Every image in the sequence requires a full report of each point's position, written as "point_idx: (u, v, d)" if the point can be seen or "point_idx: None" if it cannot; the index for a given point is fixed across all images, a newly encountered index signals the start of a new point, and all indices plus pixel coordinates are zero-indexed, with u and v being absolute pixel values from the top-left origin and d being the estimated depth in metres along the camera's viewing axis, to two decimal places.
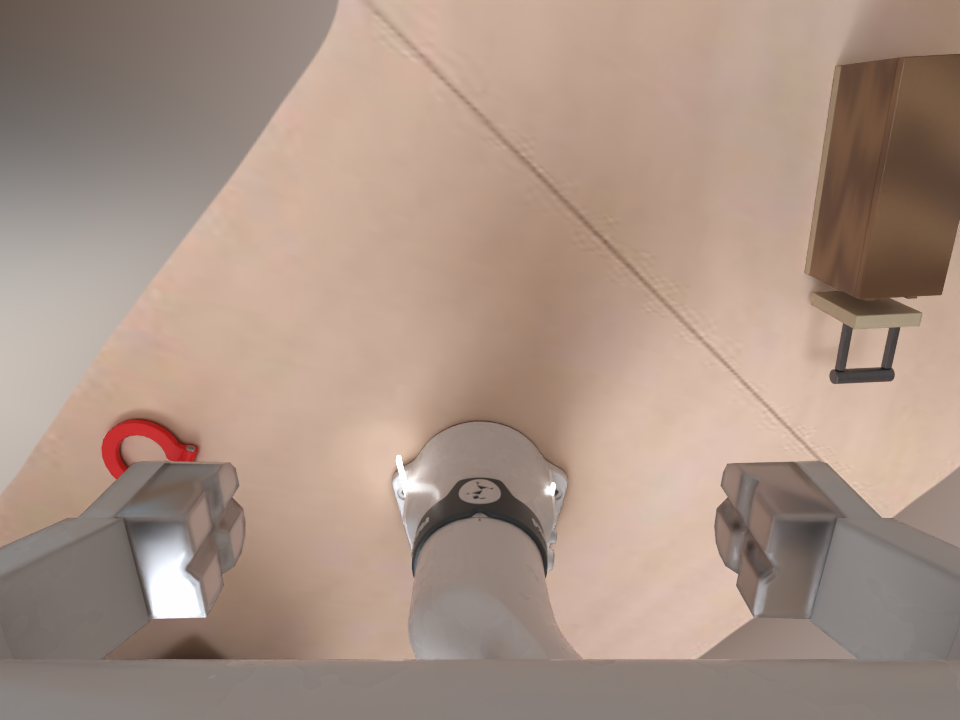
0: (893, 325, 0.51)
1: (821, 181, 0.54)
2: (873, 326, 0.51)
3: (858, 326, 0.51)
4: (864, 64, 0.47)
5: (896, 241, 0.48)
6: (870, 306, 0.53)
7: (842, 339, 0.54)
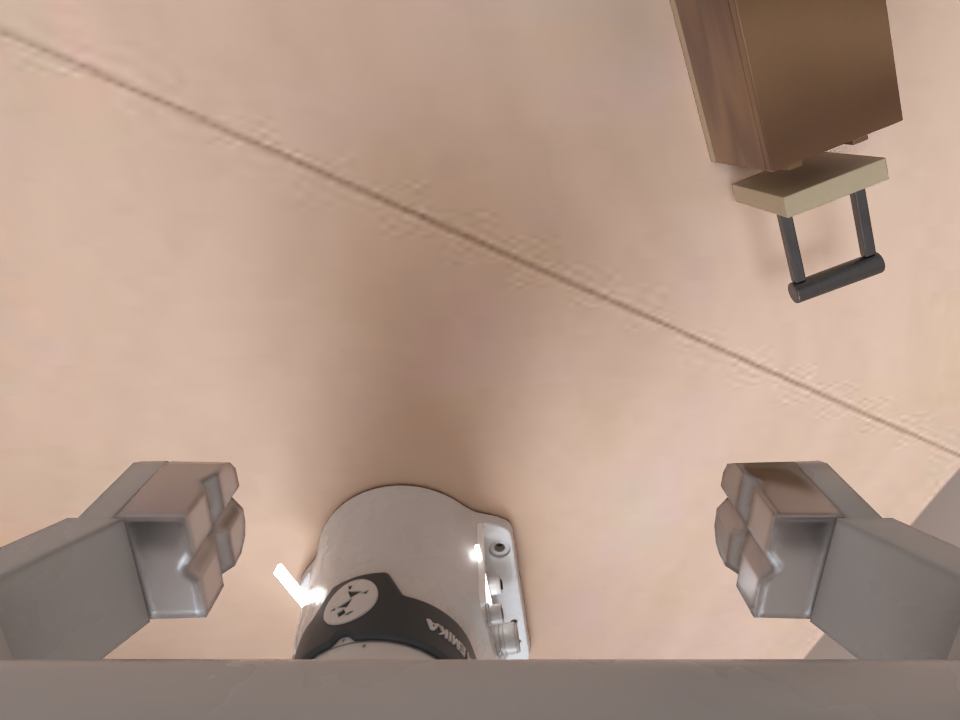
0: (847, 191, 0.33)
1: (679, 25, 0.36)
2: (815, 204, 0.33)
3: (792, 211, 0.33)
4: None
5: (793, 64, 0.30)
6: (808, 175, 0.34)
7: (784, 237, 0.35)
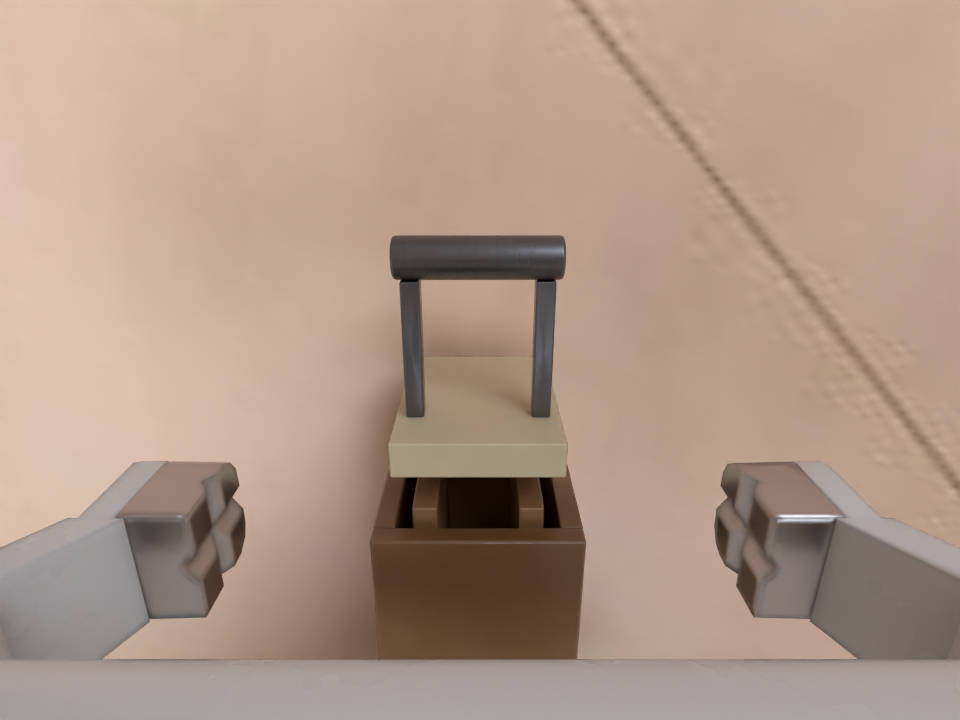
0: (460, 449, 0.18)
1: None
2: (516, 449, 0.18)
3: (557, 451, 0.18)
4: None
5: (516, 654, 0.20)
6: None
7: (551, 368, 0.19)
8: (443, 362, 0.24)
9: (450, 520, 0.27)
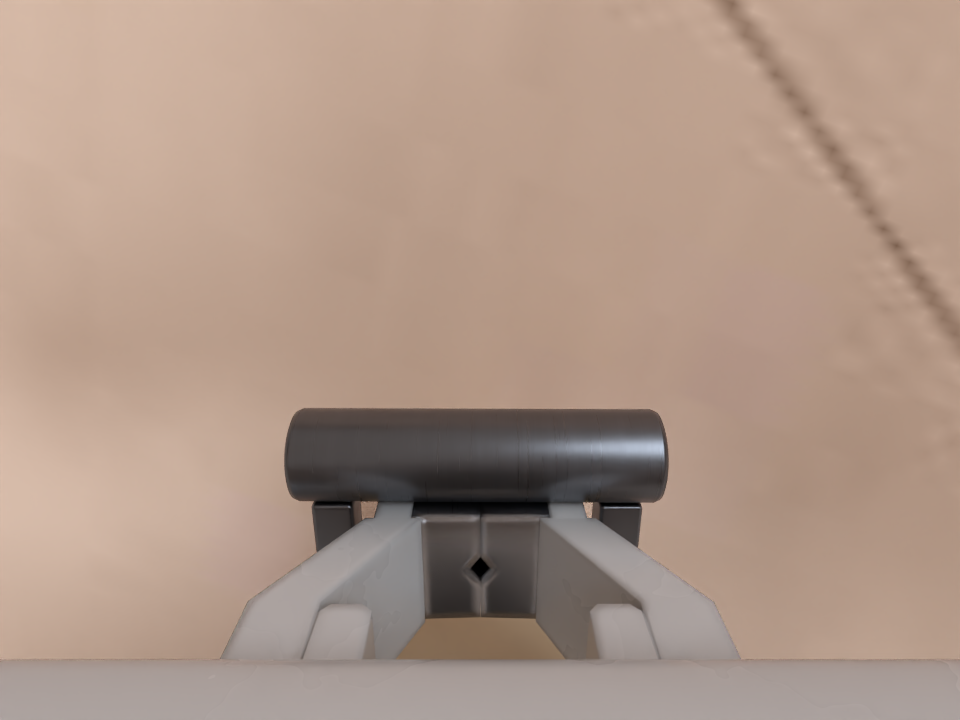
0: None
1: None
2: None
3: None
4: None
5: None
6: None
7: None
8: None
9: None
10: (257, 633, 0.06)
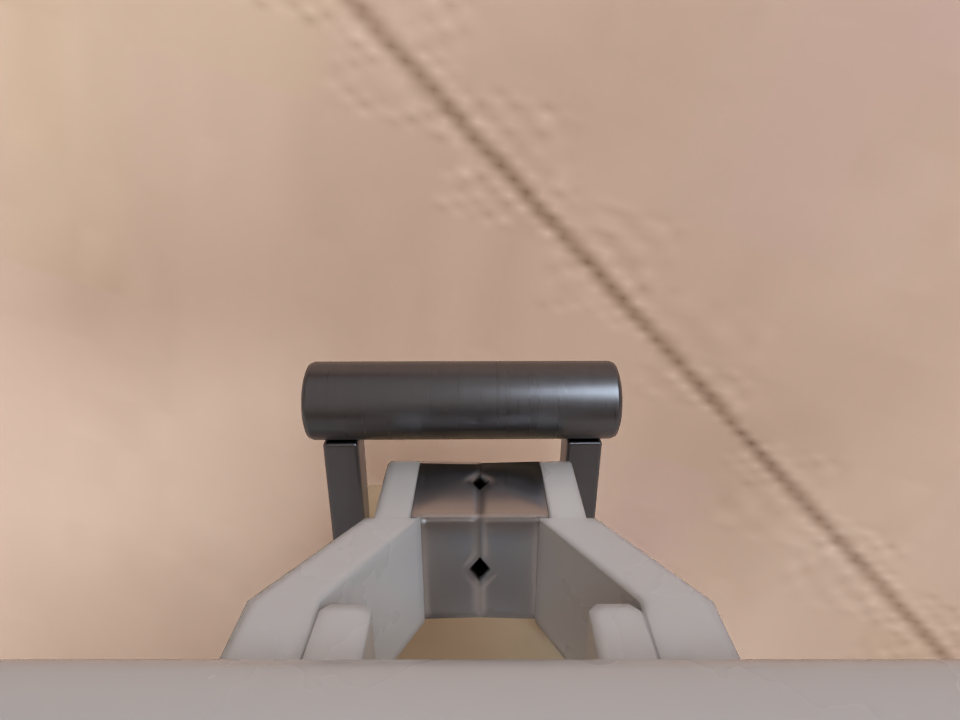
0: None
1: None
2: None
3: None
4: None
5: None
6: None
7: None
8: None
9: None
10: (256, 633, 0.06)
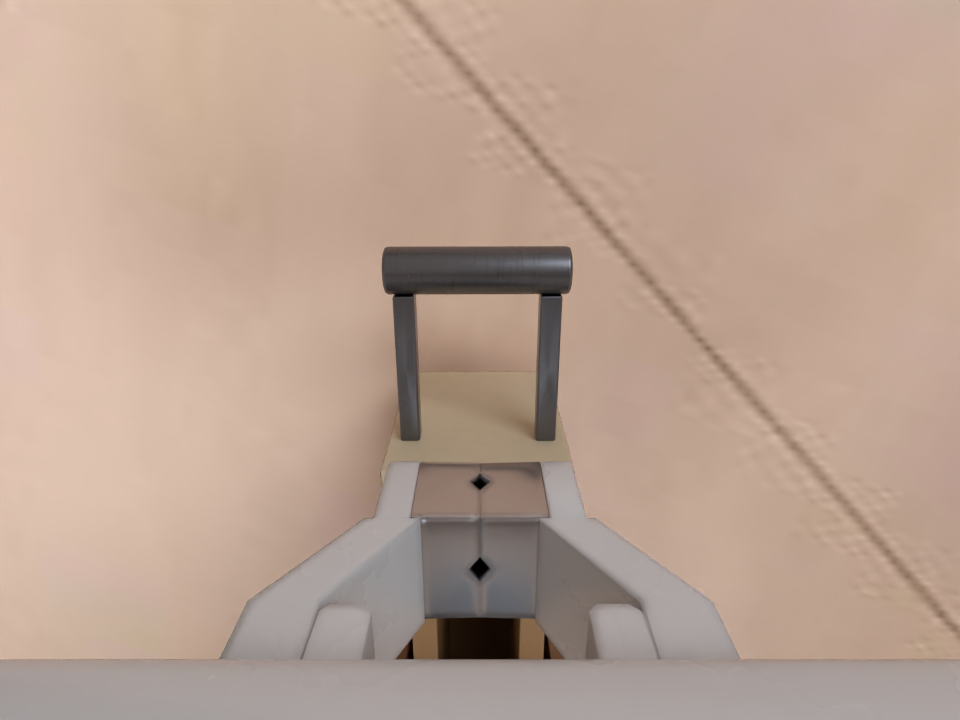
0: None
1: None
2: None
3: None
4: None
5: None
6: None
7: (556, 388, 0.18)
8: (441, 378, 0.23)
9: None
10: (256, 633, 0.06)
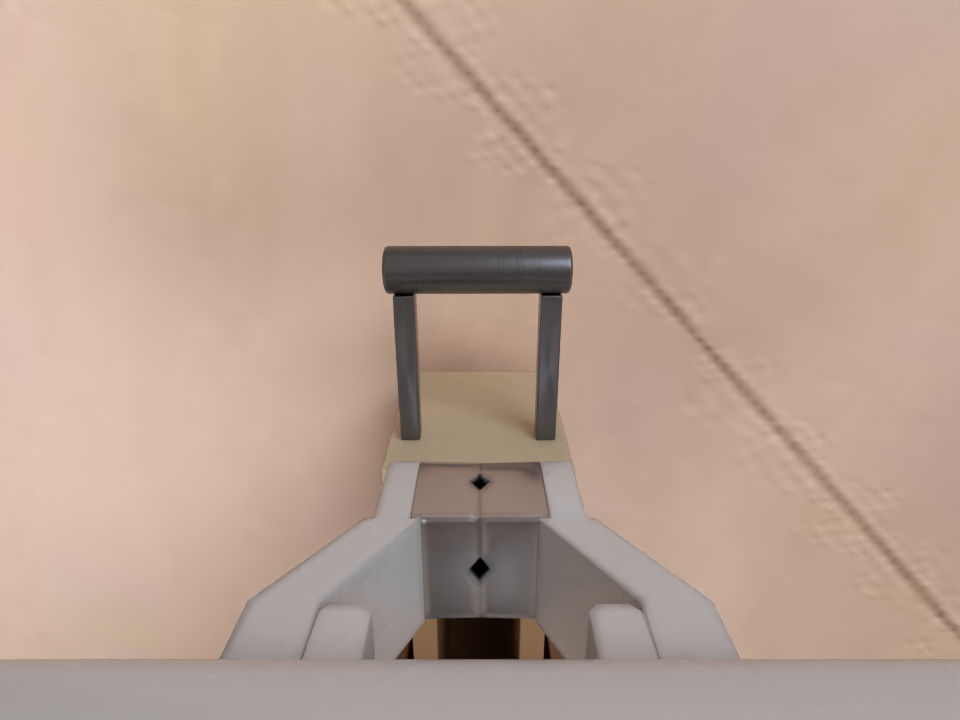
0: None
1: None
2: None
3: None
4: None
5: None
6: None
7: (557, 388, 0.18)
8: (441, 377, 0.23)
9: None
10: (256, 633, 0.06)
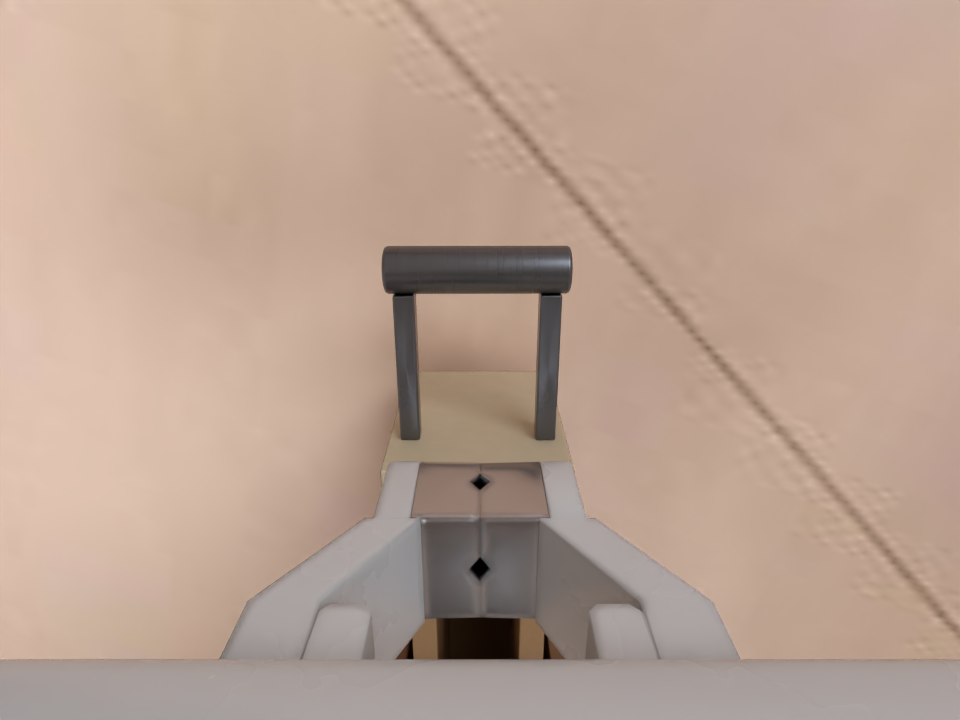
0: None
1: None
2: None
3: None
4: None
5: None
6: None
7: (556, 388, 0.18)
8: (441, 377, 0.23)
9: None
10: (256, 633, 0.06)
